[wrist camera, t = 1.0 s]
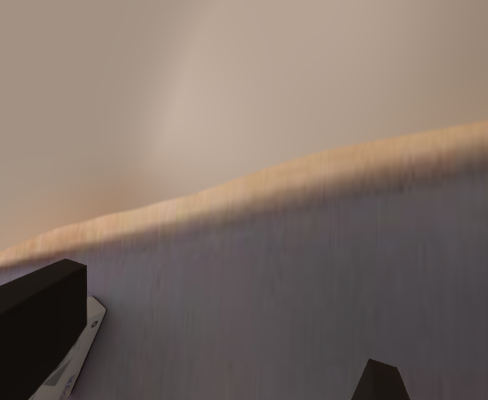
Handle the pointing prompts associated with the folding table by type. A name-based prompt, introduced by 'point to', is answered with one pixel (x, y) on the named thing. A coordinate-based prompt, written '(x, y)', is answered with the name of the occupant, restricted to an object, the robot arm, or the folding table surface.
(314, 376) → the folding table surface
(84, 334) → the ink box
